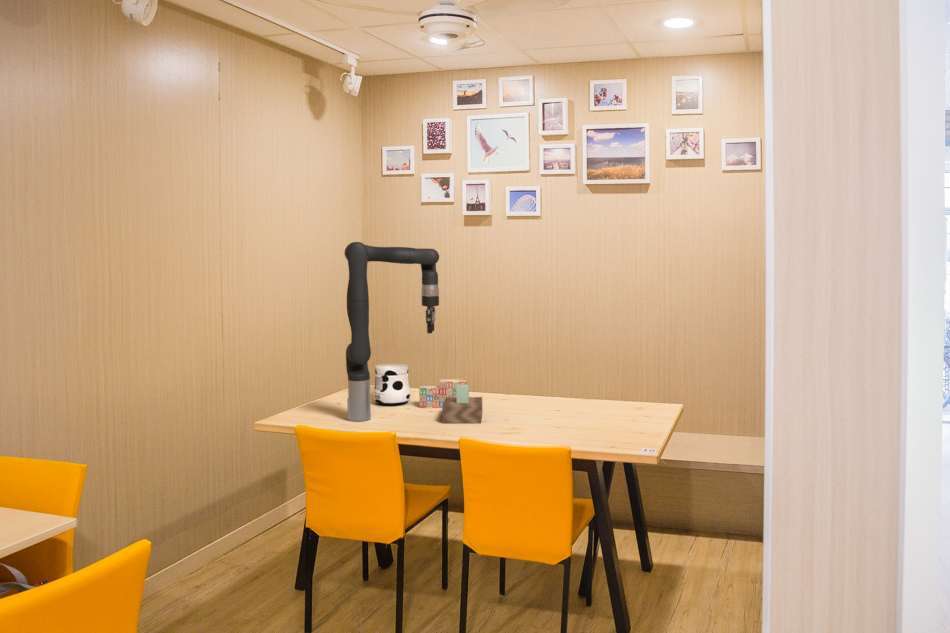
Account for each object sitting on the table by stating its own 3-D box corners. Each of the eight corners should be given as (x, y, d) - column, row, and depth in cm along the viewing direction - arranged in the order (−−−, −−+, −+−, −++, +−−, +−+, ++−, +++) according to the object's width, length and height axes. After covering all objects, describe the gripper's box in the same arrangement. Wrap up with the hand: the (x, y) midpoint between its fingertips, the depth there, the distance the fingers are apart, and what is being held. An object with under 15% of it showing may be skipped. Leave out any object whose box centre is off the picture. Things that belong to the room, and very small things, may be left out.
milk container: (414, 399, 362) (413, 362, 361) (405, 407, 345) (405, 368, 344) (379, 399, 365) (378, 362, 363) (369, 406, 348) (368, 368, 346)
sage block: (456, 403, 320) (456, 386, 319) (457, 400, 325) (457, 384, 324) (468, 403, 320) (468, 386, 319) (468, 400, 325) (468, 384, 324)
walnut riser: (442, 423, 313) (442, 406, 313) (446, 412, 333) (445, 397, 333) (481, 423, 313) (480, 406, 312) (482, 412, 333) (482, 397, 332)
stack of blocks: (419, 408, 344) (418, 381, 343) (420, 405, 350) (420, 379, 349) (466, 408, 343) (465, 381, 342) (467, 405, 349) (466, 379, 348)
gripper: (423, 293, 334) (423, 330, 335) (419, 296, 320) (420, 334, 321) (440, 293, 334) (440, 330, 335) (437, 295, 319) (438, 334, 321)
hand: (430, 332), depth 328 cm, fingers open, 8 cm apart
